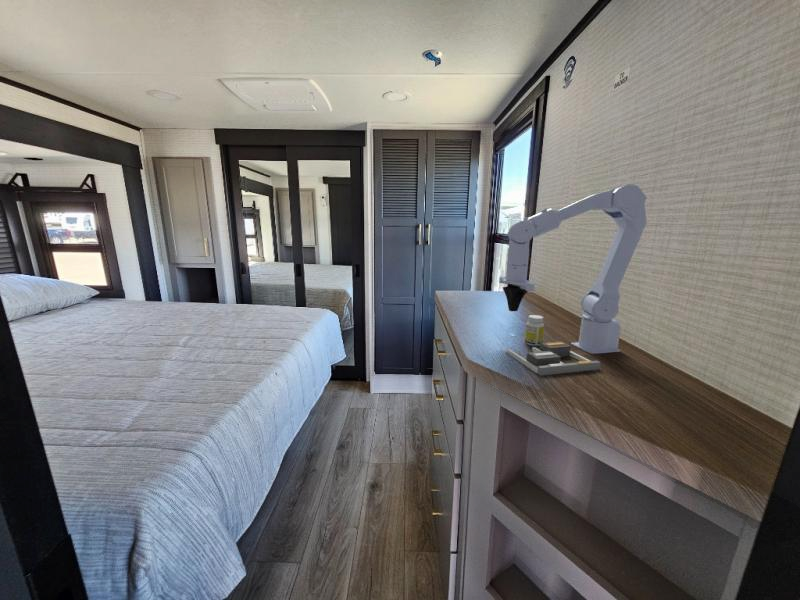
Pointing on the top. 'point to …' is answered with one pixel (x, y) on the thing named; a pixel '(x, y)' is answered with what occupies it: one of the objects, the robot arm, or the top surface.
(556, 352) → the breaker
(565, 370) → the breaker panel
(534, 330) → the supplement bottle
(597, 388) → the top surface
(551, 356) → the block
